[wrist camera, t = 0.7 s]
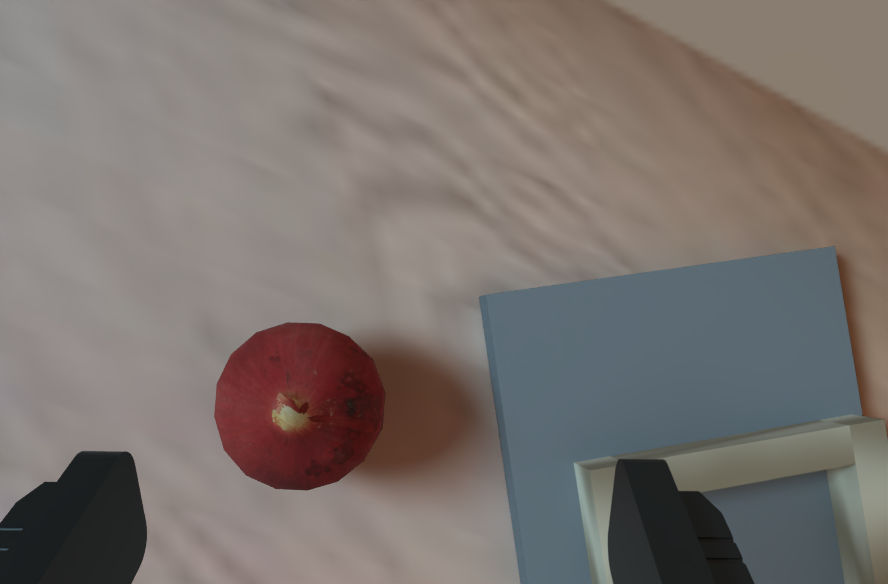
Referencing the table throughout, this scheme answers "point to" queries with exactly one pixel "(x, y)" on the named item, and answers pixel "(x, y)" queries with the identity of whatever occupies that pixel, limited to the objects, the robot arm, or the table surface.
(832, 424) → the square frame
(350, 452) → the onion
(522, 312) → the build board
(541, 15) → the table surface
